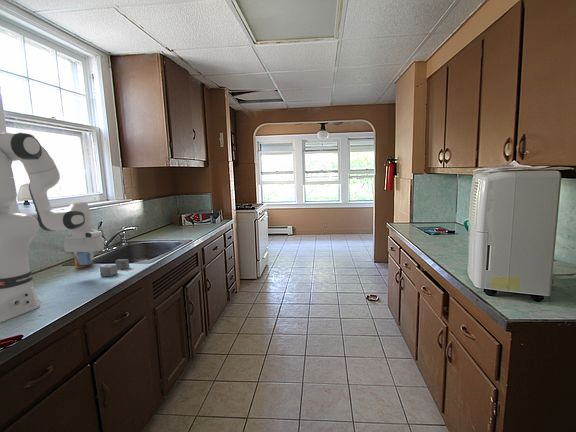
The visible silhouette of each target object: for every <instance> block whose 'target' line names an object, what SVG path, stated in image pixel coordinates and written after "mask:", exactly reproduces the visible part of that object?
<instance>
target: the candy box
mask: <svg viewBox="0 0 576 432" xmlns="http://www.w3.org/2000/svg"><path fill="white" fill-rule="evenodd" d="M80 253H81V252H80ZM73 257H74V264H75V265H74V266H75V269H76V270H77V269H82V268H88V267H94V262H93V263H91V264H89V265H79V261H78V260H77V257H76V255H75V254H74V253H73Z"/></svg>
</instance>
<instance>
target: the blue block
mask: <svg viewBox="0 0 576 432" xmlns="http://www.w3.org/2000/svg"><path fill="white" fill-rule="evenodd" d="M89 256H90V252H81V253H78V261H79V265H89V264H91V263H93V264H94V259H93V260H89V258H88V257H89Z"/></svg>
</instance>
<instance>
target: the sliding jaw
mask: <svg viewBox="0 0 576 432" xmlns="http://www.w3.org/2000/svg"><path fill="white" fill-rule="evenodd" d="M99 272H100V277H113V276H115V275H117V274H118V269H117V265H116V263H114V264H113V263H112V264H111V263H110V264H109V263H107V264H106V263H105V264H104V265H102V266H99Z"/></svg>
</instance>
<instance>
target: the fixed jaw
mask: <svg viewBox="0 0 576 432" xmlns="http://www.w3.org/2000/svg"><path fill="white" fill-rule="evenodd" d="M115 264H116V265H117V270H128V269H130V262H129V258H127V259H126V258H122V259H121V258H119V259H116V260H115Z"/></svg>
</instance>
